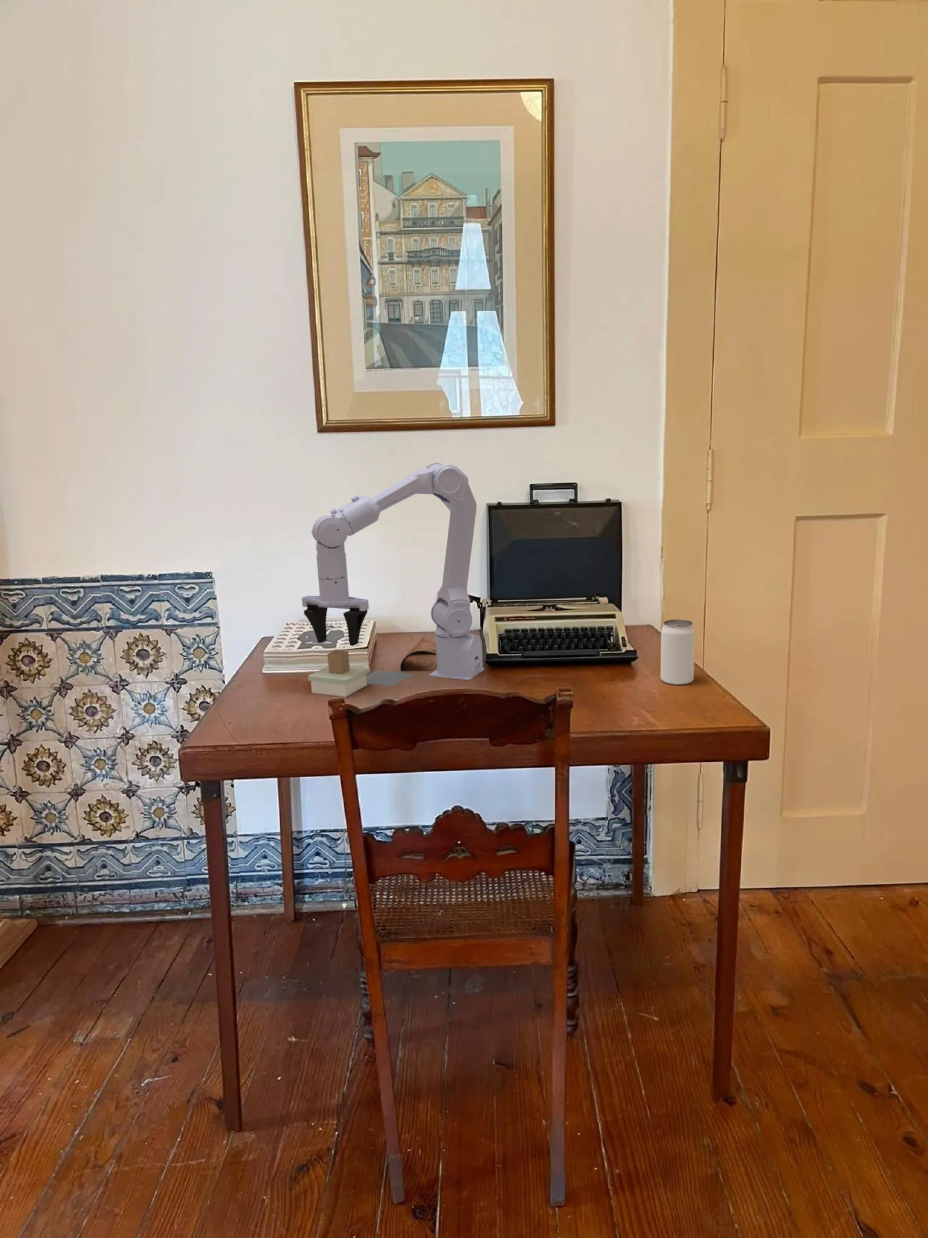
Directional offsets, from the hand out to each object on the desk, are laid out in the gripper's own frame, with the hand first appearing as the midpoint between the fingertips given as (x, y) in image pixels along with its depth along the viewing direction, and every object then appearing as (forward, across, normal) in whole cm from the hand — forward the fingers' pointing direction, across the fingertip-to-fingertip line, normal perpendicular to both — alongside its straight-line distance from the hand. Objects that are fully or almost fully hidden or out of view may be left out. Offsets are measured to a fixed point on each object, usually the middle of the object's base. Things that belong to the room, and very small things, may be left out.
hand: (338, 643), depth 176 cm
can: (+10, +62, +27) cm, 69 cm away
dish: (+10, 0, -1) cm, 10 cm away
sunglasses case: (+11, +8, +24) cm, 27 cm away
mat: (+10, +5, +9) cm, 14 cm away
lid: (+7, 0, 0) cm, 7 cm away
